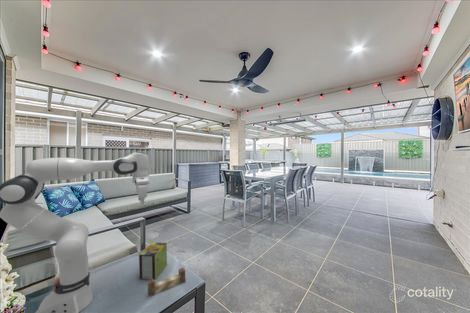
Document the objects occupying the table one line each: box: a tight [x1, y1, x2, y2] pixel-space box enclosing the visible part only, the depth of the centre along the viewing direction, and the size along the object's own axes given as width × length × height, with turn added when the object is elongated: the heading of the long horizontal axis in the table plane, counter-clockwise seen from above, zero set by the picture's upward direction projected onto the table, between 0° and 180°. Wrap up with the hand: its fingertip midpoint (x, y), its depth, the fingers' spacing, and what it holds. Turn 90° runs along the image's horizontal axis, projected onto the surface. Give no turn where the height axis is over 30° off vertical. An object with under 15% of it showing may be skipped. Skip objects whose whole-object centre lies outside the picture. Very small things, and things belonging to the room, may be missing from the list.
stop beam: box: [147, 267, 186, 297], centre depth 104 cm, size 20×4×7 cm, turn 124°
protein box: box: [138, 241, 168, 281], centre depth 117 cm, size 10×15×16 cm
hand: (141, 202), depth 107 cm, fingers open, 8 cm apart
